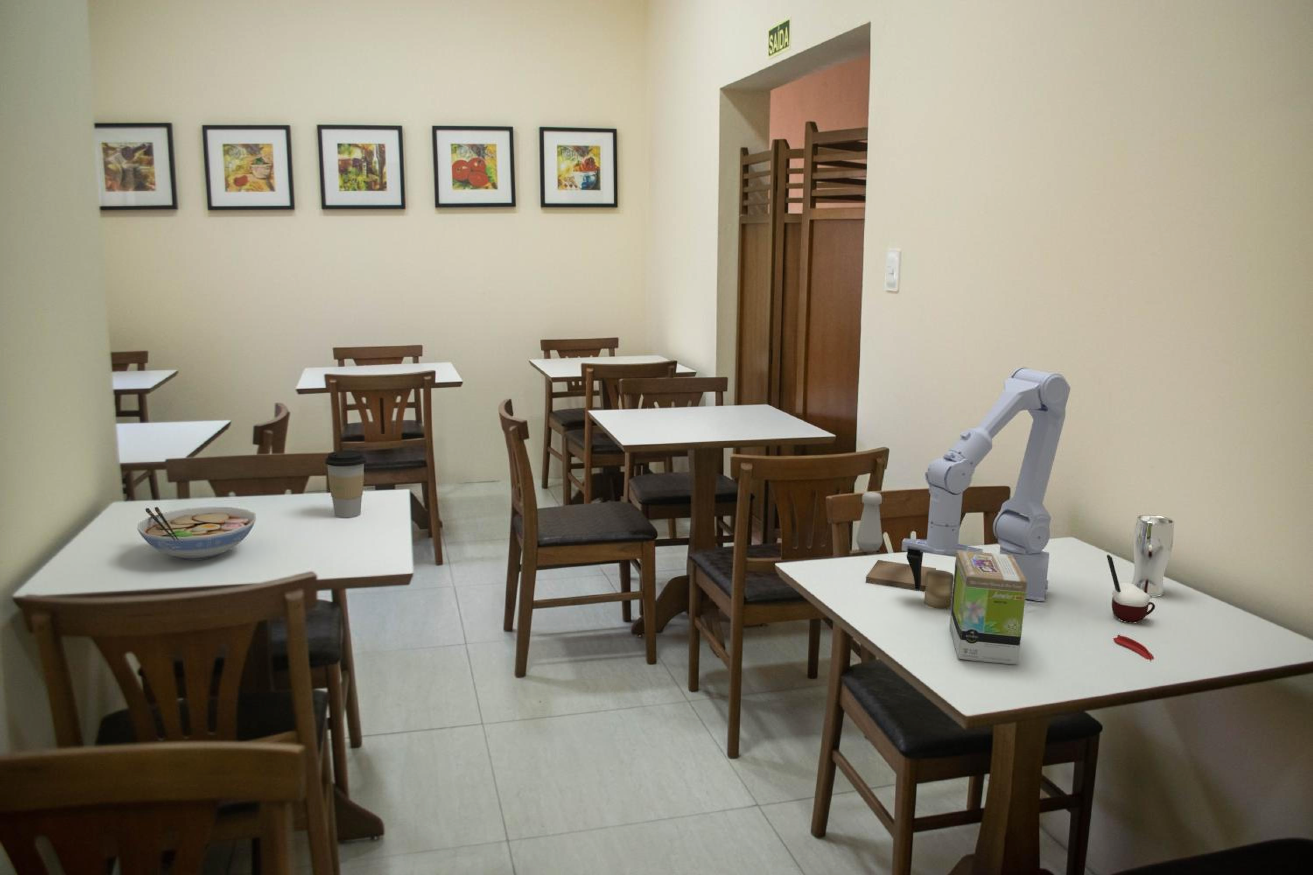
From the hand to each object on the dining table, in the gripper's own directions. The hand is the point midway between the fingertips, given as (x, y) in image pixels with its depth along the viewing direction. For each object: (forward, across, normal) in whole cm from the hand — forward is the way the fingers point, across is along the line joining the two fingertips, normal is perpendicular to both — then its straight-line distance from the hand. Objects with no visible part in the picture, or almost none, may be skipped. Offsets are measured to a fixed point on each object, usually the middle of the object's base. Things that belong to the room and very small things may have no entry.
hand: (938, 591), depth 195 cm
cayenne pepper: (+3, +34, -7) cm, 34 cm away
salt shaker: (+3, -19, +28) cm, 34 cm away
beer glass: (+2, +37, +26) cm, 45 cm away
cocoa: (+3, +33, +8) cm, 34 cm away
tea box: (+3, +10, -17) cm, 20 cm away
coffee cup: (+3, -138, -2) cm, 138 cm away
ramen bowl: (+3, -145, -40) cm, 150 cm away
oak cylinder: (+3, 0, 0) cm, 3 cm away
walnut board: (+2, -9, +12) cm, 15 cm away
